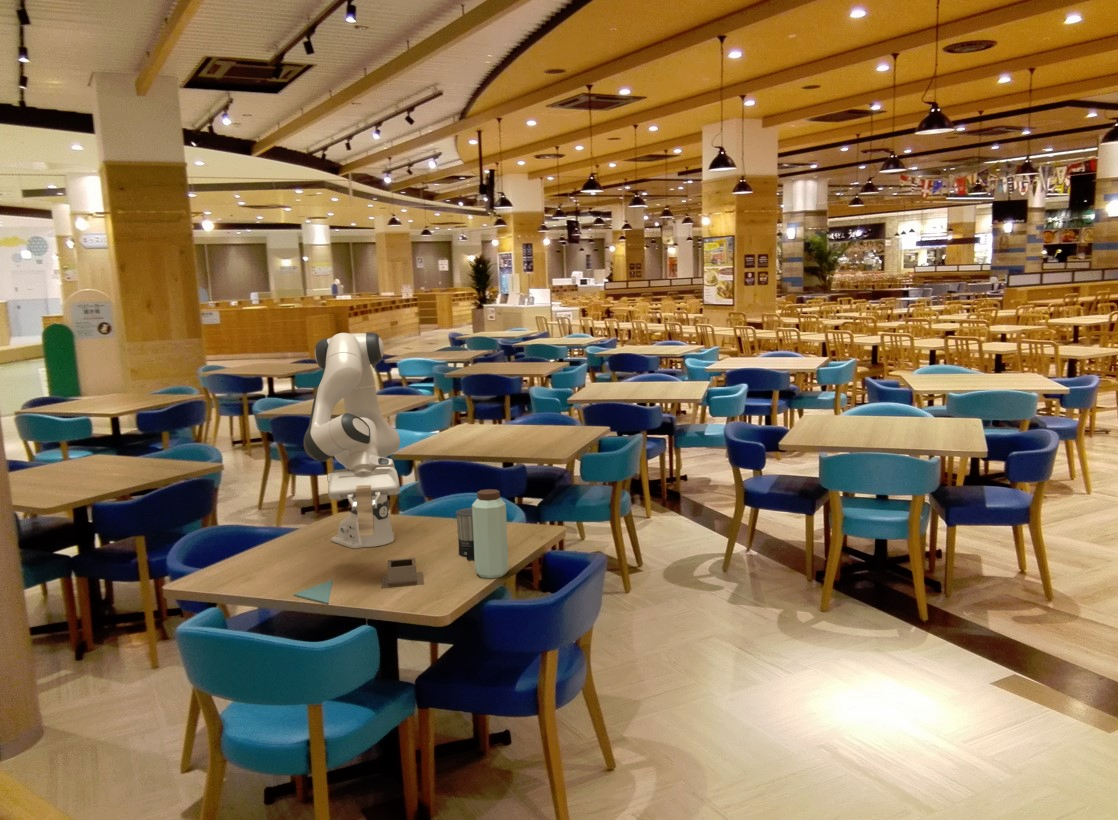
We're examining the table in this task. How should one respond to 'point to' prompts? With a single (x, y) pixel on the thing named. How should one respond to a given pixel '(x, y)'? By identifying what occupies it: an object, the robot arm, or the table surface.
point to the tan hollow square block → (402, 574)
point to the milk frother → (465, 533)
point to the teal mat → (317, 592)
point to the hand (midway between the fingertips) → (364, 508)
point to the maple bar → (365, 510)
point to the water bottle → (490, 534)
